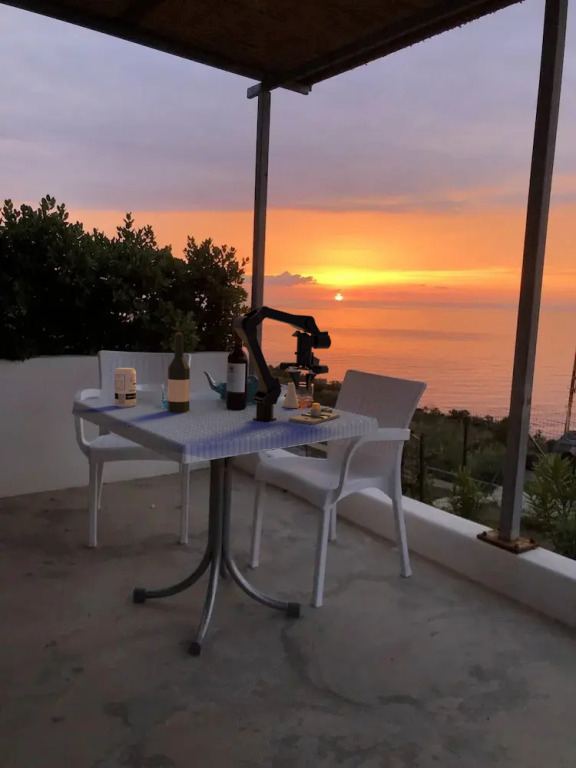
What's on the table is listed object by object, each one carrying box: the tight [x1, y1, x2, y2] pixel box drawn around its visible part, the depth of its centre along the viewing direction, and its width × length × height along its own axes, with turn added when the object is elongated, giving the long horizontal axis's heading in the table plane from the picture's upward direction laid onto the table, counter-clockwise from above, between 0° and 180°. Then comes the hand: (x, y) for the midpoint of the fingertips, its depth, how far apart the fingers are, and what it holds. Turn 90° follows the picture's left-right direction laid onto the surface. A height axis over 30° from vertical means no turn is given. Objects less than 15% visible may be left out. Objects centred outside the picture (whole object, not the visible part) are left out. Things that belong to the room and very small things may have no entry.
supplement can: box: [113, 366, 137, 408], centre depth 235 cm, size 8×8×15 cm
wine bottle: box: [167, 332, 191, 414], centre depth 227 cm, size 8×8×30 cm
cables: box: [320, 406, 333, 413], centre depth 234 cm, size 9×4×2 cm, turn 147°
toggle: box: [310, 402, 321, 416], centre depth 221 cm, size 3×3×4 cm
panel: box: [288, 411, 340, 425], centre depth 221 cm, size 20×10×2 cm, turn 147°
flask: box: [281, 382, 300, 409], centre depth 245 cm, size 7×7×10 cm
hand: (302, 390), depth 223 cm, fingers open, 4 cm apart
